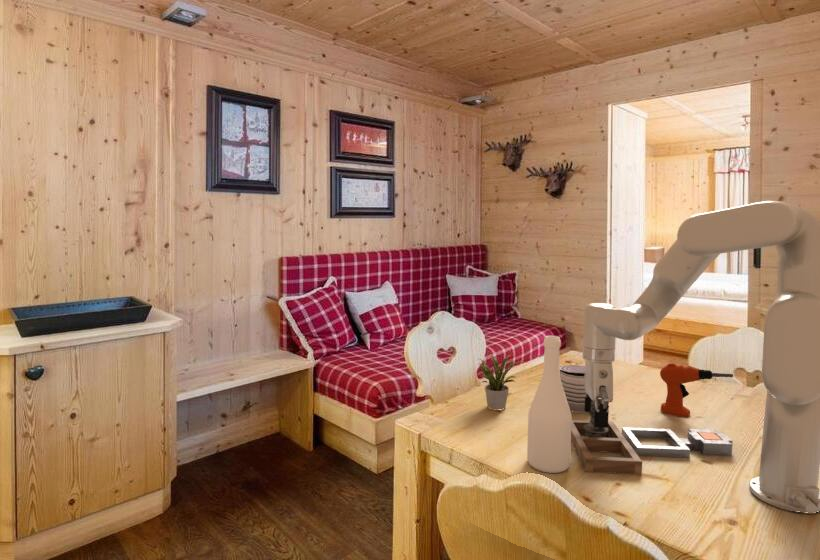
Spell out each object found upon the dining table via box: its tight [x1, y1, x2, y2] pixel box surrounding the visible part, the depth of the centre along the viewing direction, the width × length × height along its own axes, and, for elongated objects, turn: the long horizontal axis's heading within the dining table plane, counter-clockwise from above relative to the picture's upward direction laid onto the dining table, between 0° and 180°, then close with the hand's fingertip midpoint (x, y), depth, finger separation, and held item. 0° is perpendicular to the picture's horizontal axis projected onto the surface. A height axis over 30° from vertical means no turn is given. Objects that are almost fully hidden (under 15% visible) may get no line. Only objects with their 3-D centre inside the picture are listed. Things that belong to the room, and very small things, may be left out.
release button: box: [698, 433, 722, 440], centre depth 127 cm, size 4×4×3 cm
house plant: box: [477, 354, 526, 409], centre depth 153 cm, size 14×14×16 cm
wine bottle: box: [526, 335, 573, 474], centre depth 117 cm, size 10×10×30 cm
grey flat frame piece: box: [621, 426, 733, 459], centre depth 127 cm, size 12×23×3 cm, turn 84°
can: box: [559, 364, 589, 414], centre depth 154 cm, size 11×11×12 cm
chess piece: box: [584, 398, 608, 438], centre depth 130 cm, size 6×6×12 cm
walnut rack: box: [571, 419, 643, 475], centre depth 125 cm, size 22×12×3 cm, turn 174°
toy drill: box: [659, 362, 734, 418], centre depth 146 cm, size 5×19×15 cm, turn 56°
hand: (595, 419), depth 130 cm, fingers open, 9 cm apart
